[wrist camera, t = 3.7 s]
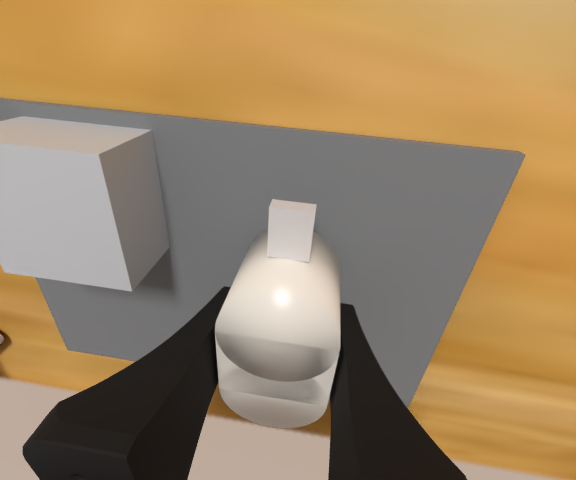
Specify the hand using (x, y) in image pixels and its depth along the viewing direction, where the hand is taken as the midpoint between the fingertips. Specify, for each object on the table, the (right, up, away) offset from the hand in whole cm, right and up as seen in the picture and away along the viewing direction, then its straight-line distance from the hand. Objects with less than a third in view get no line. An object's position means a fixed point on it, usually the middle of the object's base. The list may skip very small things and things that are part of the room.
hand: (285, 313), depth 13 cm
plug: (0, +1, +1) cm, 1 cm away
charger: (-7, +5, 0) cm, 9 cm away
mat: (-3, +1, +2) cm, 3 cm away
